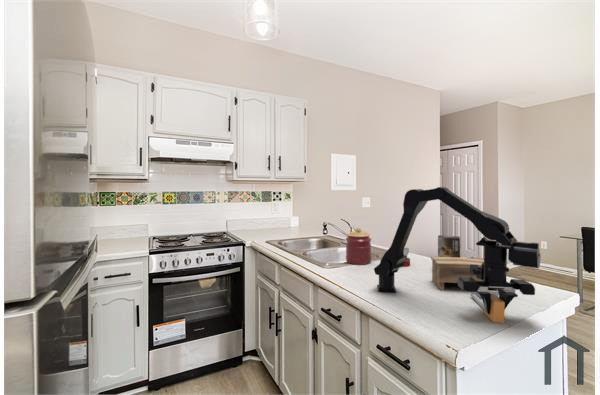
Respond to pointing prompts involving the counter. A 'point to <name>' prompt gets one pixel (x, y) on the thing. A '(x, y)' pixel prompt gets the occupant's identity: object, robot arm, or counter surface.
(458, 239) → the coffee box
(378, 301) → the counter surface
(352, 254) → the canister
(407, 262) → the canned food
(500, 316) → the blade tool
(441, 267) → the cabinet
